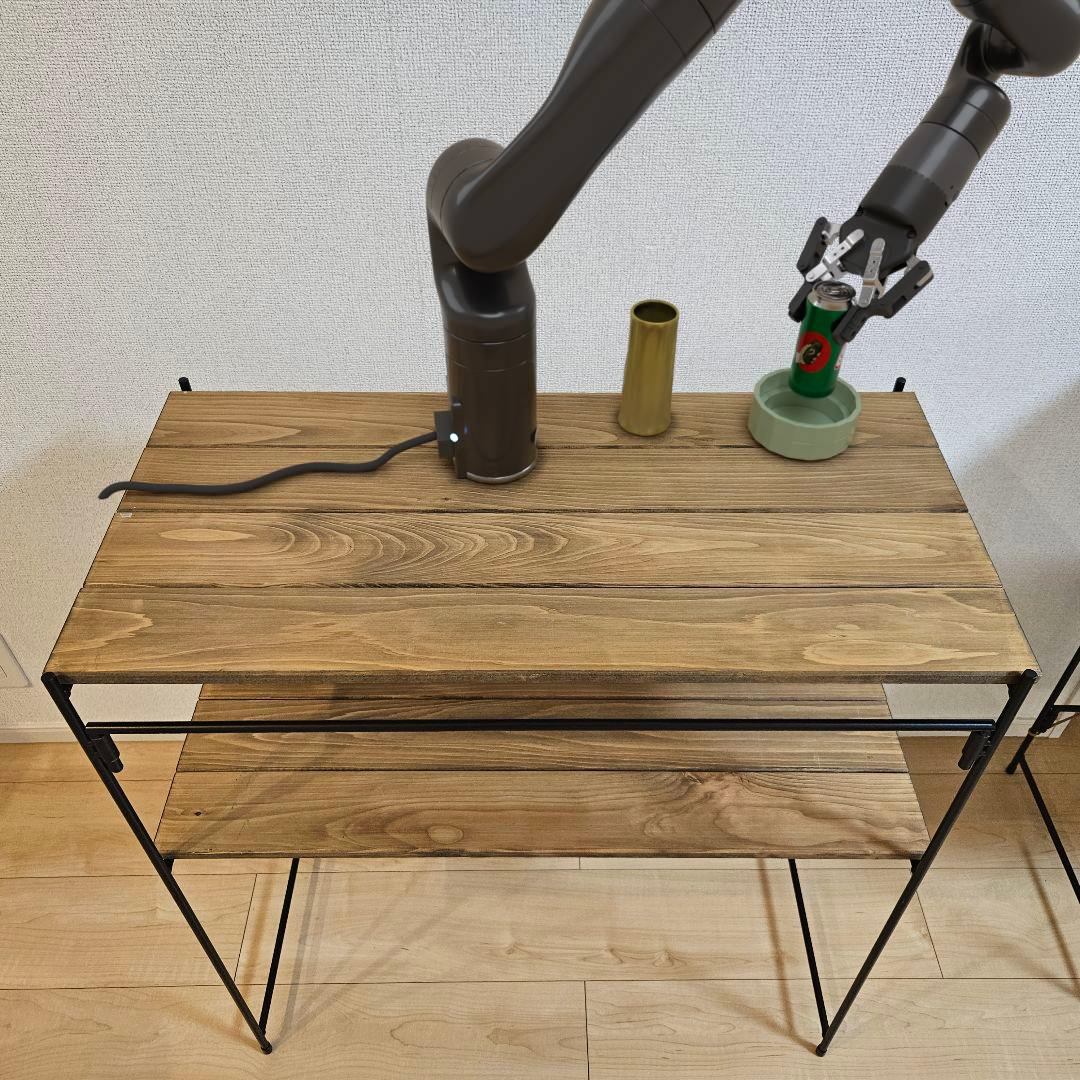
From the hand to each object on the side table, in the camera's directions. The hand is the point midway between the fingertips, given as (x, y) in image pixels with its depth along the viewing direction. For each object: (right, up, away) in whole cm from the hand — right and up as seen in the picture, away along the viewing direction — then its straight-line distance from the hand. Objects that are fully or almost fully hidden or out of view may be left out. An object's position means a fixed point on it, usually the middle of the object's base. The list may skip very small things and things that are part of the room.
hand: (814, 329), depth 92 cm
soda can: (+1, -5, +7) cm, 9 cm away
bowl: (+1, -9, +10) cm, 14 cm away
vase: (-16, -8, +12) cm, 22 cm away
